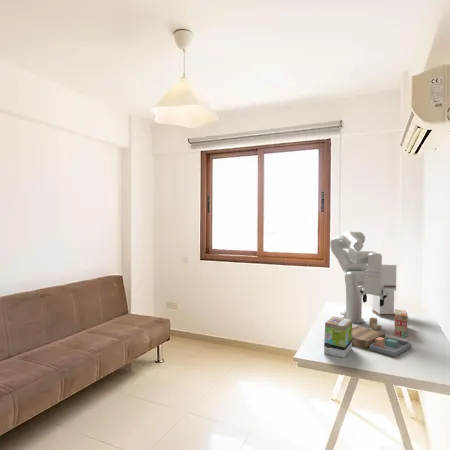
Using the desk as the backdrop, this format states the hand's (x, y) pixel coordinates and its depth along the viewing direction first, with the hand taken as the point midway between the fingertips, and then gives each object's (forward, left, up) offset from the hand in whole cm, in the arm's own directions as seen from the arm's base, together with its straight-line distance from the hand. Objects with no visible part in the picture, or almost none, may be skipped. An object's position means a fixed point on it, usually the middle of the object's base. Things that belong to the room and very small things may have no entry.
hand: (373, 304), depth 193 cm
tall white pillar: (-12, +43, -16) cm, 47 cm away
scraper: (+1, -1, -16) cm, 16 cm away
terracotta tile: (+14, -25, -13) cm, 31 cm away
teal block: (+18, -17, -13) cm, 27 cm away
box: (+19, -20, -16) cm, 32 cm away
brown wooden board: (+4, -20, -16) cm, 26 cm away
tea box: (+4, -43, -16) cm, 46 cm away
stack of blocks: (+10, +13, -16) cm, 23 cm away
